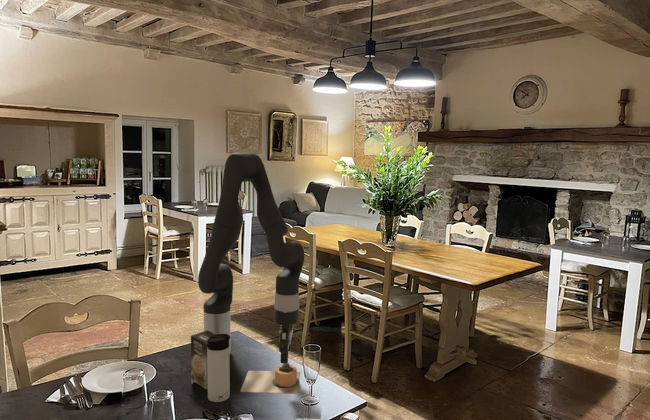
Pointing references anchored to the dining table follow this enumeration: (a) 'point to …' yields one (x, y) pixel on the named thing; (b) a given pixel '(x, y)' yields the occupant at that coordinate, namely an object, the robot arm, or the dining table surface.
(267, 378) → the post board
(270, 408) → the dining table surface
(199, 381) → the coffee box
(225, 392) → the travel mug
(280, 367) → the ring
